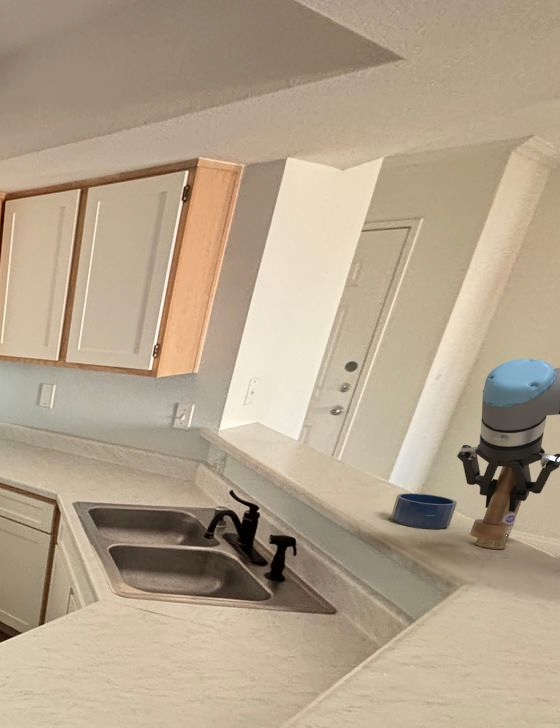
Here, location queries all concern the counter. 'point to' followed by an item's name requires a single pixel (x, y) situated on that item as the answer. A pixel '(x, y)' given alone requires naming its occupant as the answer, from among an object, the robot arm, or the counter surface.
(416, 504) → the bowl
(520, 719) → the counter surface
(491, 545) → the sprinkles bottle
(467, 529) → the counter surface
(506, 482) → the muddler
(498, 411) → the robot arm
